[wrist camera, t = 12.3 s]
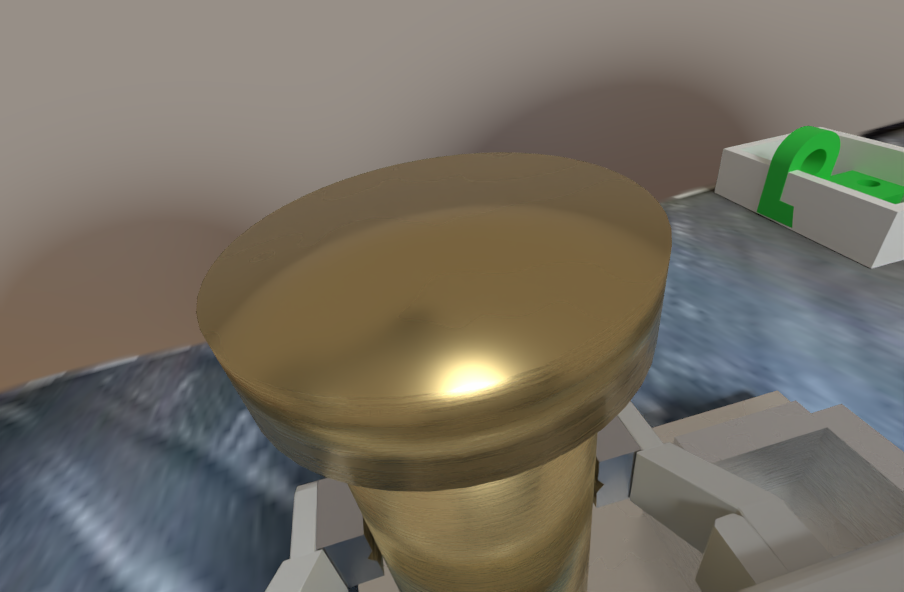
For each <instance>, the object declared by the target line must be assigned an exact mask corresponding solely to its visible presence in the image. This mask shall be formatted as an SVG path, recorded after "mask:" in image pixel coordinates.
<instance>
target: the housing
mask: <svg viewBox="0 0 904 592" xmlns="http://www.w3.org/2000/svg"><path fill="white" fill-rule="evenodd" d="M652 429H653V430H654V432H655V433H656V434H657V436H658V437H659V438H660V439H661V441H662V442H663V443H668V442H670V443H672V444H674V445H676V446H678V447H680V448H682V449H684V450H686V451H688V452H690V453H692V454H694V455H696V456H698V457H700V458H702V459H704V460H706V461H708V462H710V463H712V464H714V465H716V466H718V467H720V468H722V469H724V470H726V471H728V472H730V473H732V474H734V475H736V476H738V477H740V478H742V479H744V480H746V481H748V482H750V483H752V484H754V485H756V486H758V487H760V488H762V489H764V490H766V491H768V492H770V493H772V494H774V495H776V496H778V497H779V498H780V499H781V500H782V501H783V503H784V504H785V505H786V506H787V507H788V508H789V509H790V510H791V511H792V512H793V513H794V515H795V516H796V517H797V518H798V519H799V520H800V521H801V522H802V523H803V524H804V526H805V527H806V528H807V529H808V530H809V531H810V532H811V533H812V534H813V535H814V536H815V538H816V539H817V540H818V541H819V542H820V543H821V544H822V545H823V546H824V547H825V548H826V550H827V551H828V552H829V553H830V554H831V555H832V556H833V557H835V556H838V555H841V554H843V553H846V552H849V551H852V550H855V549H858V548H860V547H863V546H866V545H869V544H872V543H875V542H877V541H880V540H883V539H886V538H889V537H892V536H894V535H897V534H900V533H903V532H904V452H903V451H902V450H900V449H899V448H898V447H896V446H895V445H894V444H893V443H891V442H890V441H889V440H887V439H886V438H885V437H884V436H882V435H881V434H880V433H878V432H877V431H876V430H875V429H873V428H872V427H871V426H869V425H868V424H867V423H866V422H864V421H863V420H862V419H860V418H859V417H858V416H857V415H855V414H854V413H853V412H851V411H850V410H849V409H848V408H846V407H845V406H844V405H842V404H840V405H837V406H834V407H830V408H827V409H824V410H821V411H817V412H814V413H810V412H809V411H807V410H806V409H805V408H804V407H803V406H802V405H800V404H799V403H798V402H797V401H793V402H790V401H789V400H788V399H787V398H786V397H784V396H783V395H782V394H781V393H780V392H779V391H774V392H771V393H768V394H764V395H761V396H758V397H754V398H751V399H748V400H744V401H741V402H737V403H734V404H731V405H727V406H724V407H721V408H717V409H714V410H711V411H707V412H704V413H701V414H697V415H694V416H690V417H687V418H684V419H680V420H677V421H674V422H670V423H667V424H664V425H660V426H657V427H654V428H652ZM702 556H703V553H701V552H700V551H699V550H697V549H696V548H694V547H693V546H692V545H690V544H689V543H688V542H686V541H685V540H683V539H682V538H681V537H679V536H678V535H677V534H675V533H674V532H672V531H671V530H670V529H668V528H667V527H666V526H664V525H663V524H661V523H660V522H659V521H657V520H656V519H655V518H653V517H652V516H650V515H649V514H648V513H646V512H645V511H644V510H642V509H641V508H639V507H638V506H637V505H635V504H634V503H633V502H631V501H630V498H629V499H625V500H622V501H618V502H615V503H611V504H608V505H605V506H601V507H598V508H596V507H595V505H594V503H593V510H592V525H591V541H590V556H589V572H588V588H587V592H702V591H701V589H700V588H699V586H698V585H697V583H696V581H695V577H696V573H697V570H698V567H699V564H700V562H701V559H702ZM383 564H384V576H381V577H379V578H376V579H373V580H370V581H367V582H364V583H361V584H359V585H358V589H359V592H400V591H399V589H398V587H397V585H396V583H395V581H394V579H393V577H392V575H391V573H390V571H389V569H388V567H387V565H386V563H385V560H384V558H383Z"/></svg>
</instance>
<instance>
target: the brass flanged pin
mask: <svg viewBox="0 0 904 592" xmlns="http://www.w3.org/2000/svg"><path fill="white" fill-rule="evenodd" d="M671 247H672V238H671V227H670V224H669V221H668V218H667V215H666V213H665V211H664V210H663V208H662V207H661V205H660V204H659V202H658V201H657V200H656V199H655V198H654V197H653V196H652V195H651V194H650V193H649V192H648V191H647V190H646V189H644V188H643V187H641V186H640V185H638V184H637V183H635V182H634V181H632V180H631V179H629V178H627V177H625V176H623V175H621V174H619V173H617V172H614V171H612V170H609V169H606V168H604V167H601V166H598V165H594V164H591V163H587V162H584V161H580V160H575V159H569V158H565V157H559V156H551V155H542V154H531V153H503V152H502V153H501V152H500V153H474V154H461V155H452V156H444V157H436V158H429V159H423V160H417V161H412V162H407V163H402V164H398V165H393V166H389V167H385V168H381V169H377V170H374V171H370V172H367V173H364V174H360V175H357V176H354V177H351V178H348V179H345V180H342V181H339V182H336V183H334V184H331V185H329V186H326V187H323V188H321V189H319V190H316V191H314V192H312V193H309V194H307V195H305V196H303V197H301V198H299V199H297V200H295V201H293V202H291V203H289V204H287V205H285V206H283V207H281V208H280V209H278V210H276V211H275V212H273V213H271V214H269V215H268V216H266V217H265V218H263V219H262V220H261V221H259V222H257V223H256V224H254V225H253V226H251V227H250V228H249V229H248V230H246V231H245V232H244V233H243V234H241V236H239V237H238V238H237V239H235V240H234V241H233V242H232V243H231V244H230V245H229V246H228V247H227V248H226V249H225V250H224V251H223V252H222V253H221V255H220V256H219V257H218V259H217V260H216V261H215V262H214V264H213V265H212V266H211V268H210V269H209V271H208V273H207V275H206V276H205V278H204V280H203V282H202V285H201V288H200V291H199V294H198V297H197V311H196V313H197V319H198V323H199V327H200V330H201V332H202V334H203V335H204V337H205V339H206V341H207V343H208V344H209V346H210V348H211V349H212V351H213V353H214V354H215V356H216V358H217V359H218V361H219V362H220V364H221V366H222V367H223V369H224V371H225V372H226V374H227V376H228V377H229V379H230V381H231V382H232V384H233V386H234V387H235V389H236V391H237V392H238V394H239V395H240V397H241V399H242V400H243V402H244V404H245V405H246V407H247V409H248V410H249V412H250V414H251V415H252V417H253V419H254V420H255V422H256V423H257V425H258V427H259V428H260V430H261V432H262V433H263V434H264V435H265V436H266V437H267V438H268V440H269V441H270V442H271V443H272V444H273V445H274V446H275V447H276V448H277V449H278V450H279V451H280V452H282V453H283V454H285V455H286V456H287V457H289V458H290V459H292V460H293V461H294V462H296V463H297V464H299V465H301V466H303V467H305V468H307V469H309V470H311V471H313V472H315V473H317V474H320V475H322V476H324V477H326V478H330V479H333V480H337V481H340V482H343V483H347V484H348V486H349V489H350V491H351V493H352V495H353V497H354V499H355V501H356V503H357V505H358V507H359V509H360V511H361V513H362V515H363V517H364V519H365V521H366V523H367V526H368V528H369V530H370V532H371V534H372V536H373V538H374V540H375V542H376V544H377V546H378V548H379V550H380V552H381V554H382V556H383V558H384V560H385V563H386V565H387V567H388V569H389V571H390V573H391V575H392V577H393V579H394V581H395V583H396V585H397V587H398V589H399V591H400V592H587V588H588V572H589V556H590V541H591V525H592V510H593V494H594V479H595V463H596V448H597V433H598V432H599V431H600V430H602V429H603V428H604V427H605V426H606V425H607V424H609V423H610V422H611V421H612V420H613V419H614V418H615V417H616V416H617V415H618V414H619V413H620V412H621V411H622V410H623V409H624V408H625V407H626V406H627V404H628V403H629V402H630V400H631V399H632V398H633V396H634V395H635V393H636V392H637V391H638V389H639V388H640V387H641V385H642V383H643V381H644V379H645V377H646V375H647V373H648V370H649V368H650V366H651V364H652V360H653V356H654V352H655V348H656V344H657V337H658V331H659V325H660V318H661V312H662V305H663V299H664V292H665V286H666V279H667V273H668V266H669V260H670V254H671Z"/></svg>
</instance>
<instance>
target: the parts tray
mask: <svg viewBox="0 0 904 592" xmlns="http://www.w3.org/2000/svg"><path fill="white" fill-rule="evenodd" d="M819 128H821V129H825V130H829V131H833V132H835V133H837V134H838V136H839V138H840V151H839V155H838V157H837V160H836V163H835V166H834V168H833V171H832V174H831V176H832V175H836V174H840V173H844V172H848V171H852V170H853V171H857V172H860V173H863V174H866V175H869V176H872V177H875V178H879V179H882V180H885V181H888V182H891V183H894V184H898V185H901V186H904V148H903V147H899V146H895V145H891V144H887V143H883V142H879V141H875V140H871V139H867V138H863V137H859V136H855V135H851V134H847V133H843V132H839V131H835V130H831V129H827V128H823V127H819ZM788 135H790V134H787V135H782V136H778V137H773V138H769V139H765V140H760V141H756V142H751V143H747V144H742V145H738V146H733V147H729V148H725V149H724V150H723V155H722V159H721V164H720V168H719V173H718V178H717V182H716V187H715V192H714V193H717V194H719V195H721V196H723V197H725V198H727V199H729V200H731V201H733V202H735V203H737V204H739V205H741V206H743V207H745V208H747V209H749V210H751V211H754V212H756V213H757V208H758V205H759V201H760V198H761V194H762V191H763V188H764V184H765V181H766V177H767V174H768V170H769V167H770V163H771V160H772V158H773V155H774V153H775V151H776V150H777V148H778V147H779V145H780V144H781V143H782V141H783V140H784V139H785V138H786V137H787V136H788ZM780 201H782V202H785V203H787V204H789V205H791V206H794V211H793V224H792V228H791V227H789V226H786V225H784V224H782V223H780V222H777V221H775V220H773V219H771V218H769V217H766V216H764V215H762V214H760V213H758V214H760V215H762V216H764V217H766V218H768V219H770V220H772V221H774V222H776V223H778V224H780V225H782V226H784V227H786V228H789V229H791V230H793V231H795V232H797V233H799V234H801V235H803V236H805V237H807V238H809V239H811V240H813V241H815V242H817V243H819V244H821V245H823V246H826V247H828V248H830V249H832V250H834V251H836V252H838V253H840V254H842V255H844V256H846V257H848V258H850V259H852V260H854V261H856V262H858V263H860V264H863V265H865V266H867V267H869V268H875V267H879V266H882V265H886V264H890V263H894V262H897V261H901V260H904V196H903V198H902V200H901V202H900V203H899V204H893V203H890V202H887V201H884V200H881V199H879V198H876V197H873V196H870V195H867V194H864V193H862V192H859V191H856V190H853V189H850V188H847V187H845V186H842V185H839V184H836V183H833V182H830V181H828V180H825V179H822V178H819V177H816V176H813V175H810V174H808V173H805V172H802V171H799V170H795V171H791V172H788V175H787V178H786V182H785V185H784V188H783V192H782V195H781V198H780Z"/></svg>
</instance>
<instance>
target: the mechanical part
mask: <svg viewBox="0 0 904 592" xmlns="http://www.w3.org/2000/svg"><path fill="white" fill-rule="evenodd" d="M839 151H840V138H839V136H838V134H837V133H835V132H833V131H829V130H825V129H821V128H816V127H812V126H804V127H801V128H799V129H797V130H795V131H794V132H792V133H791V134H790V135H788V136H787V137H786V138H785V139H784V140H783V141H782V143H781V144H780V145H779V147H778V148H777V150H776V151H775V153H774V155H773V158H772V160H771V163H770V167H769V170H768V174H767V177H766V181H765V184H764V188H763V191H762V194H761V198H760V201H759V205H758V208H757V213H760V214H762V215H764V216H766V217H769V218H771V219H773V220H775V221H777V222H780V223H782V224H784V225H786V226H789V227H791V228H792V224H793V211H794V206H791V205H789V204H787V203H785V202H782V201H780V198H781V195H782V192H783V188H784V185H785V182H786V178H787V175H788V172H791V171H795V170H799V171H802V172H805V173H808V174H810V175H813V176H816V177H819V178H822V179H825V180H828V181H830V182H833V183H836V184H839V185H842V186H845V187H847V188H850V189H853V190H856V191H859V192H862V193H864V194H867V195H870V196H873V197H876V198H879V199H881V200H884V201H887V202H890V203H893V204H899V203H900V202H901V200H902V198H903V196H904V186H901V185H898V184H894V183H891V182H888V181H885V180H882V179H879V178H875V177H872V176H869V175H866V174H863V173H860V172H857V171H853V170H852V171H848V172H844V173H840V174H836V175H832V176H831V174H832V171H833V168H834V166H835V163H836V160H837V157H838V155H839Z"/></svg>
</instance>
